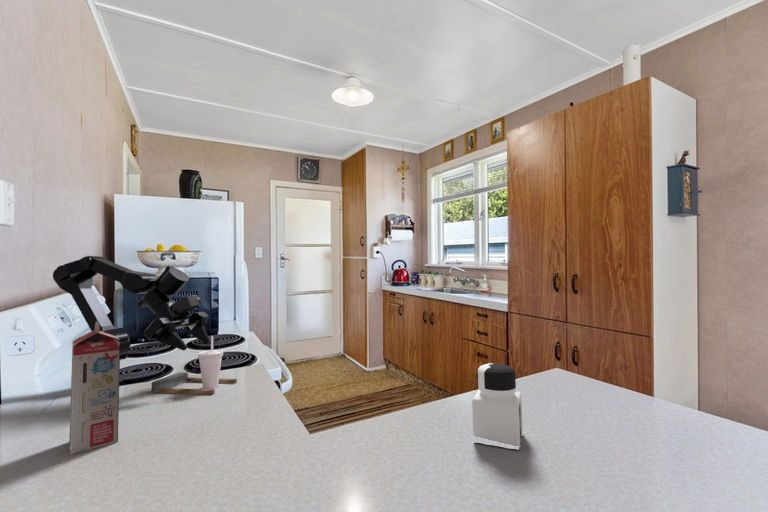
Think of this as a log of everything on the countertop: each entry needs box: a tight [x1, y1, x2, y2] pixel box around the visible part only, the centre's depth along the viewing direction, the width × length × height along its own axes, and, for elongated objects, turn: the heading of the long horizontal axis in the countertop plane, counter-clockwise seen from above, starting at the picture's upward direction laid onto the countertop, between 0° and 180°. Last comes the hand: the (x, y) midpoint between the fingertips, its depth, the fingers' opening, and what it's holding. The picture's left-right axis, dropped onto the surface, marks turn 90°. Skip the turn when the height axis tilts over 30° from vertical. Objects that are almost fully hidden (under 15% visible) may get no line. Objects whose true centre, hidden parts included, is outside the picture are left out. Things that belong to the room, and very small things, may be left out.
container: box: [471, 362, 524, 447], centre depth 65 cm, size 8×8×13 cm
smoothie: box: [197, 335, 224, 390], centre depth 99 cm, size 6×6×14 cm
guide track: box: [151, 371, 238, 396], centre depth 99 cm, size 18×11×2 cm, turn 80°
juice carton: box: [68, 322, 121, 455], centre depth 67 cm, size 7×7×22 cm
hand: (197, 345), depth 100 cm, fingers open, 9 cm apart
